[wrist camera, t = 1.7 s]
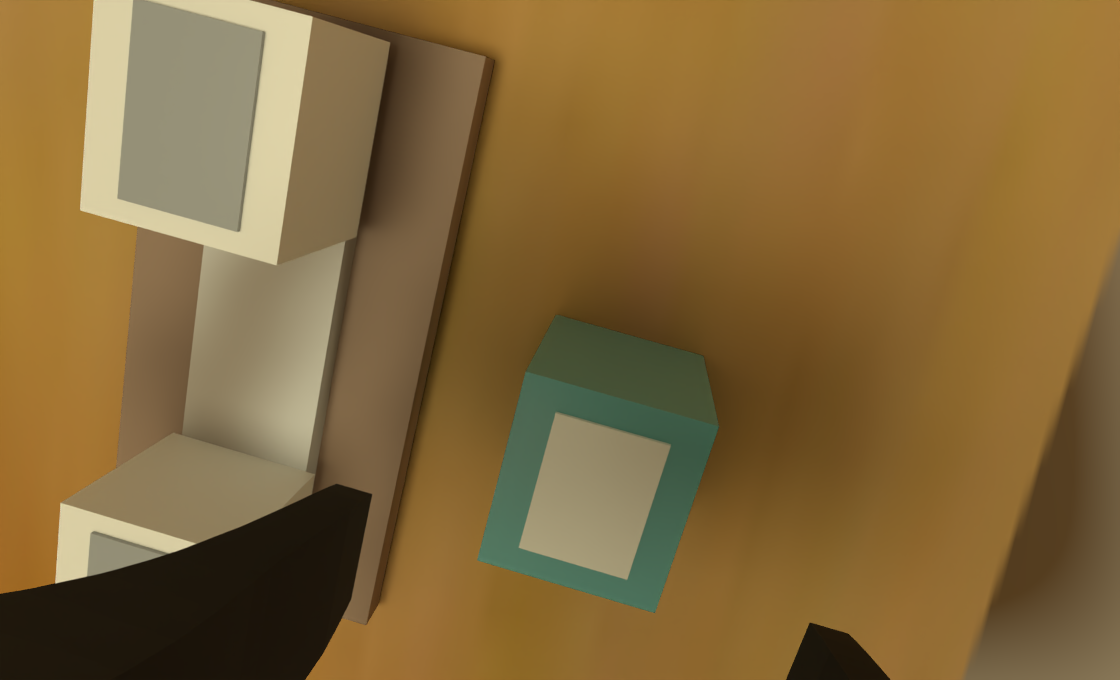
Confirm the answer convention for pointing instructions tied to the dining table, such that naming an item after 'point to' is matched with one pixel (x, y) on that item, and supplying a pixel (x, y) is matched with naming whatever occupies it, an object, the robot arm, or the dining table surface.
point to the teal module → (601, 463)
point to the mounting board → (320, 311)
